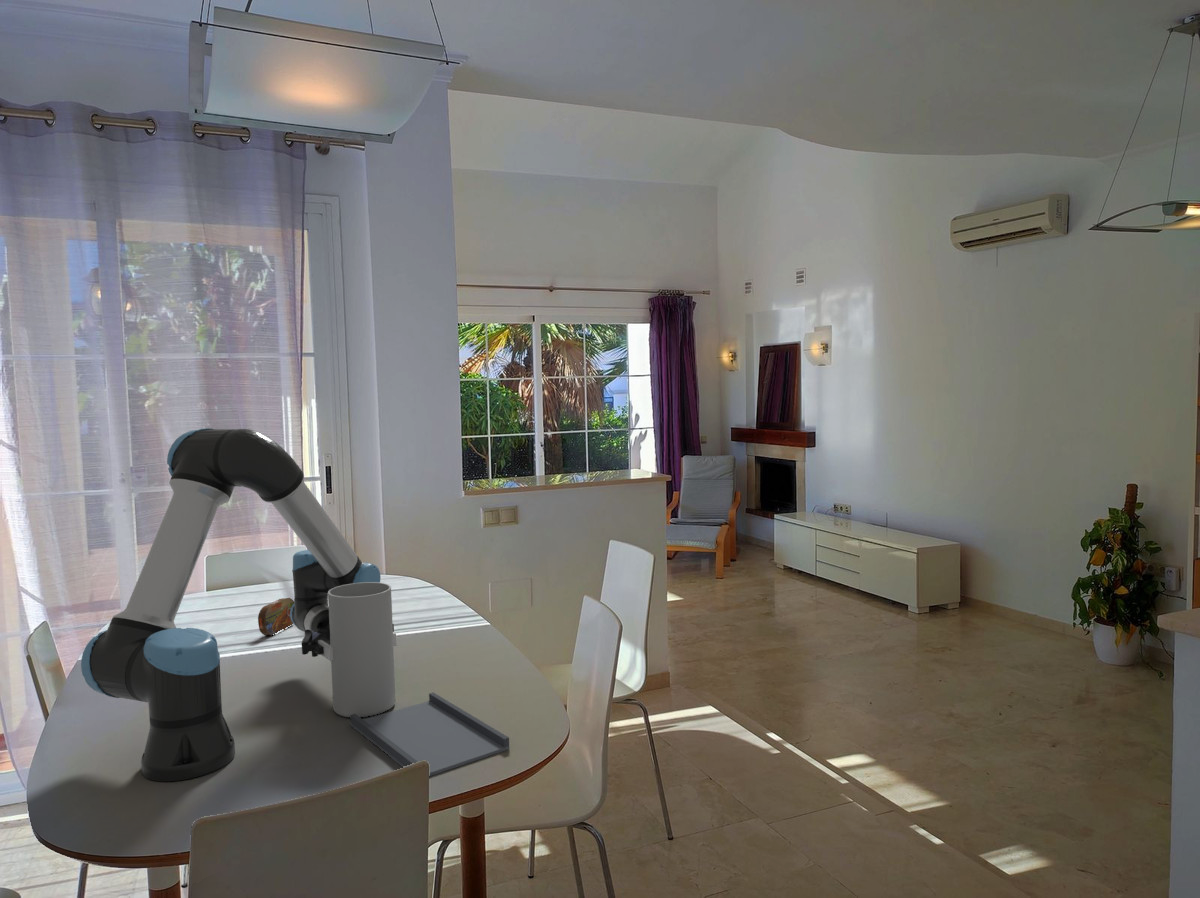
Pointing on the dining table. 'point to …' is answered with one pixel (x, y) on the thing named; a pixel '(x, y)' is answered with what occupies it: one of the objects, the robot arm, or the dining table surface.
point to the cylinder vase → (362, 648)
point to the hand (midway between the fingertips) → (363, 646)
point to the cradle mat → (432, 735)
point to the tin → (275, 616)
